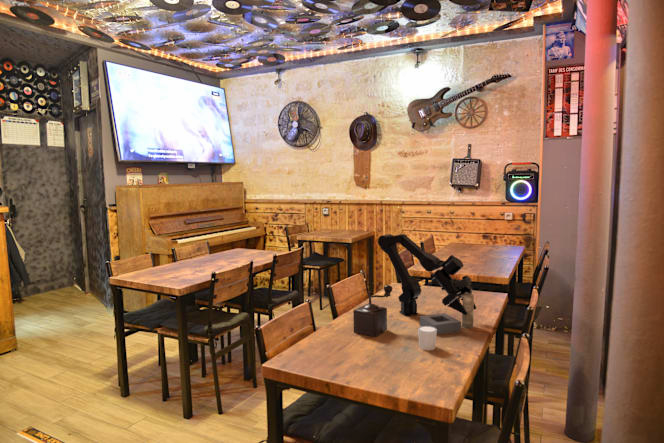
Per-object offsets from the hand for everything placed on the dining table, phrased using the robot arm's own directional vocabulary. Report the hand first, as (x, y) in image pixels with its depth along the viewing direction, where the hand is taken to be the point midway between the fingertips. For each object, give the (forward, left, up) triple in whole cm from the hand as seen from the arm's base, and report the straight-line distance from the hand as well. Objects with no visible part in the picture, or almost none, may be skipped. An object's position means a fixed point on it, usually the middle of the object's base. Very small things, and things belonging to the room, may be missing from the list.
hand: (471, 311), depth 174 cm
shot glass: (-28, -13, -7) cm, 31 cm away
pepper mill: (-39, +11, -7) cm, 41 cm away
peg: (-1, +1, -7) cm, 7 cm away
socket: (-13, +3, -7) cm, 15 cm away
